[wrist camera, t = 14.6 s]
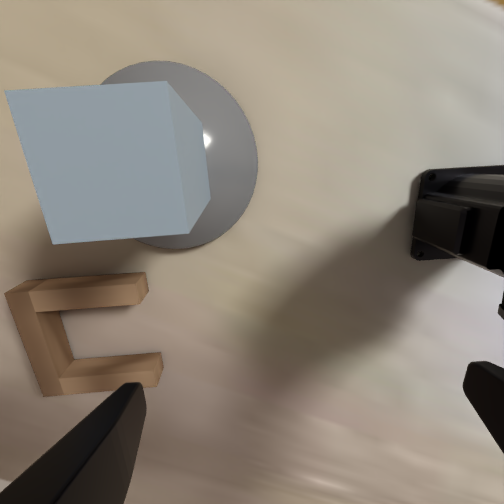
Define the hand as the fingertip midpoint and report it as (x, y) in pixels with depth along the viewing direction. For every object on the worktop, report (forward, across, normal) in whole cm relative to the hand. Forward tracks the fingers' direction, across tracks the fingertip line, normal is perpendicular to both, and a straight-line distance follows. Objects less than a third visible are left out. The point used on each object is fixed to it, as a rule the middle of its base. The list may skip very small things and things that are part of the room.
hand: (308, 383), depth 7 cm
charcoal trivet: (+13, +6, -6) cm, 15 cm away
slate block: (+12, +6, -6) cm, 15 cm away
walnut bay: (+13, +13, +6) cm, 19 cm away
